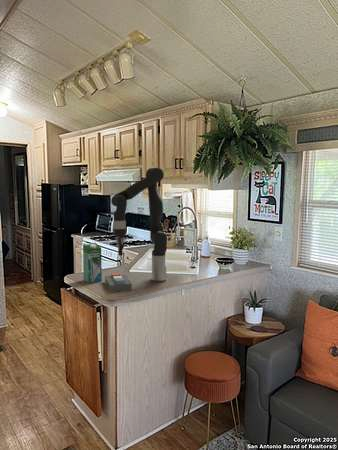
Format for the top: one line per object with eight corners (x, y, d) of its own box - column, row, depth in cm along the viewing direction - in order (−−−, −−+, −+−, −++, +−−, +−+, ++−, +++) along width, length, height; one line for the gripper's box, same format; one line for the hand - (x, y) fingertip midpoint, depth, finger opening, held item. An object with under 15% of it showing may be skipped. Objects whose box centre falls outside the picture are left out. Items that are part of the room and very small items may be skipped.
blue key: (123, 282, 205) (123, 278, 205) (124, 285, 201) (124, 280, 200) (115, 283, 204) (115, 278, 203) (116, 285, 199) (116, 280, 199)
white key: (120, 280, 212) (120, 275, 212) (122, 282, 207) (122, 277, 207) (113, 280, 211) (113, 276, 210) (114, 283, 206) (114, 278, 205)
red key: (118, 276, 219) (118, 272, 218) (120, 278, 214) (120, 274, 214) (111, 277, 217) (111, 273, 217) (112, 279, 213) (112, 275, 212)
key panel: (124, 280, 222) (124, 274, 221) (131, 290, 201) (131, 283, 201) (105, 281, 217) (104, 276, 217) (110, 292, 197) (110, 285, 196)
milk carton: (88, 283, 213) (88, 245, 210) (83, 280, 221) (82, 243, 218) (101, 281, 219) (101, 244, 216) (96, 278, 226) (95, 242, 223)
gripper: (128, 228, 198) (128, 256, 200) (123, 226, 210) (124, 252, 212) (115, 229, 195) (116, 258, 197) (111, 226, 207) (112, 253, 210)
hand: (120, 255), depth 205 cm, fingers closed
